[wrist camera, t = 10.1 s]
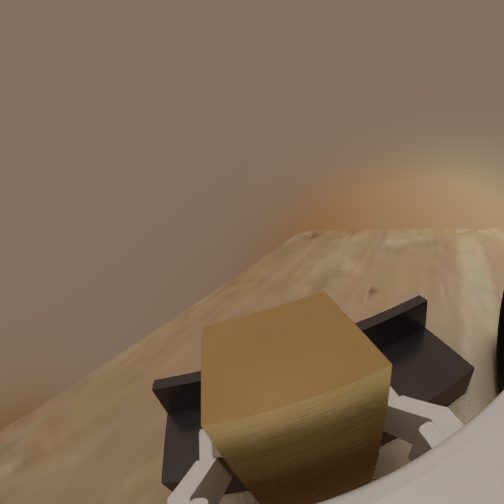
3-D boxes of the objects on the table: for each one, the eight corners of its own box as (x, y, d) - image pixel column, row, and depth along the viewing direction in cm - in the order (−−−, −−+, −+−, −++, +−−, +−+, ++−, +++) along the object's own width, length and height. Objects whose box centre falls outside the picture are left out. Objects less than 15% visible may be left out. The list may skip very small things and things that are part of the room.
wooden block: (279, 524, 8) (200, 426, 5) (263, 461, 12) (202, 327, 9) (367, 495, 8) (392, 364, 5) (338, 437, 12) (324, 291, 10)
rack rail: (465, 392, 12) (483, 338, 11) (180, 497, 11) (139, 462, 10) (415, 345, 19) (419, 295, 18) (182, 423, 18) (154, 380, 16)
